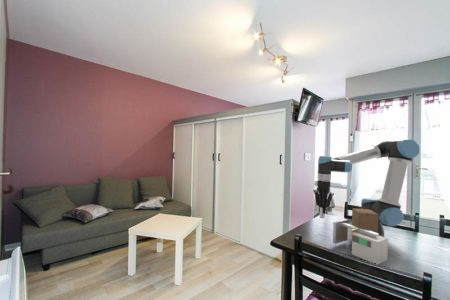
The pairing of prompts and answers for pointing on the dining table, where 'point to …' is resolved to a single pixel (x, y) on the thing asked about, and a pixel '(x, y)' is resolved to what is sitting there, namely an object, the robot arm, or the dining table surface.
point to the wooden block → (365, 219)
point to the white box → (370, 247)
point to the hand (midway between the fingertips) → (322, 217)
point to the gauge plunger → (342, 231)
